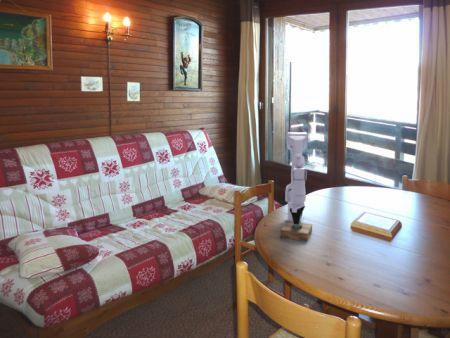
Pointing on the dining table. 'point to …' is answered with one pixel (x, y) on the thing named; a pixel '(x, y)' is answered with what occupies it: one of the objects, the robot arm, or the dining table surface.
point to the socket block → (296, 231)
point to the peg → (297, 226)
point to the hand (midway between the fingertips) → (296, 222)
